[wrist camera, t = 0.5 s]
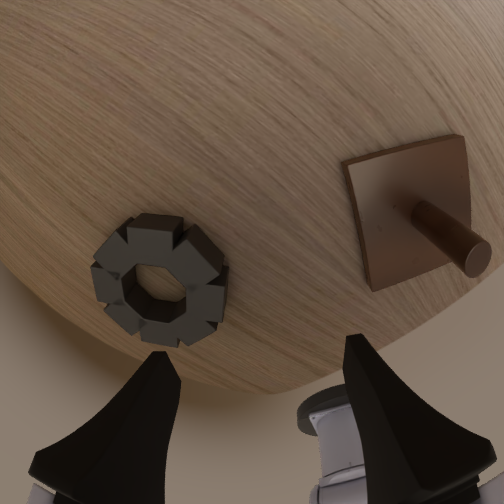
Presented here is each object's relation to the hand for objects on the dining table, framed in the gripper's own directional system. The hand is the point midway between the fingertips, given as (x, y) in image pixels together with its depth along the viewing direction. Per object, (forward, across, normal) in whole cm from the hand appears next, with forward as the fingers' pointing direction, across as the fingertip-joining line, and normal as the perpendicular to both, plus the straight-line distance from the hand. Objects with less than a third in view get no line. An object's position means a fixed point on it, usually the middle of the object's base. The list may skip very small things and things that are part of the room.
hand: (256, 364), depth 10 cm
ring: (+9, +7, 0) cm, 11 cm away
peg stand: (+9, -11, -2) cm, 14 cm away
